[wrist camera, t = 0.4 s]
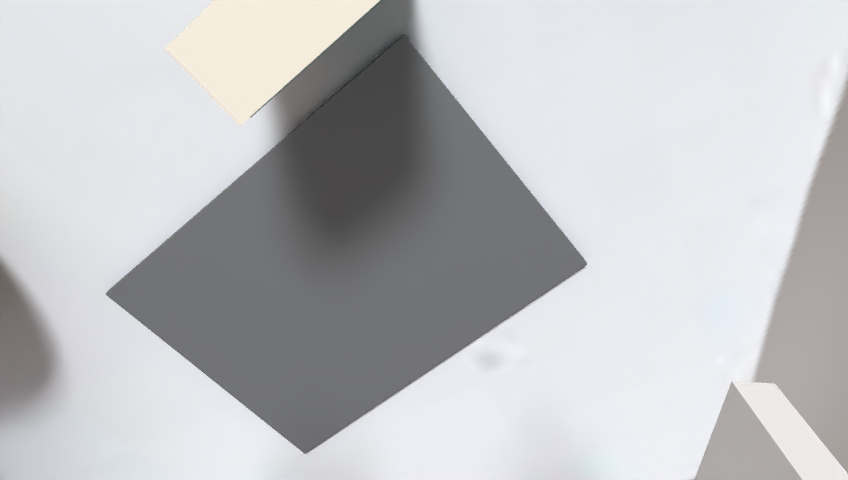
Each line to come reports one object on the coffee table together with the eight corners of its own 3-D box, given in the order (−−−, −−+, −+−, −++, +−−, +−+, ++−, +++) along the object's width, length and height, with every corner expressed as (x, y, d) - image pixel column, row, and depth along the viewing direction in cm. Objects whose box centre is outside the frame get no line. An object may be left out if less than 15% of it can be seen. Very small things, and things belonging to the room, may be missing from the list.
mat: (108, 290, 36) (105, 294, 35) (404, 34, 30) (404, 35, 29) (305, 448, 41) (304, 453, 41) (585, 260, 36) (587, 264, 35)
